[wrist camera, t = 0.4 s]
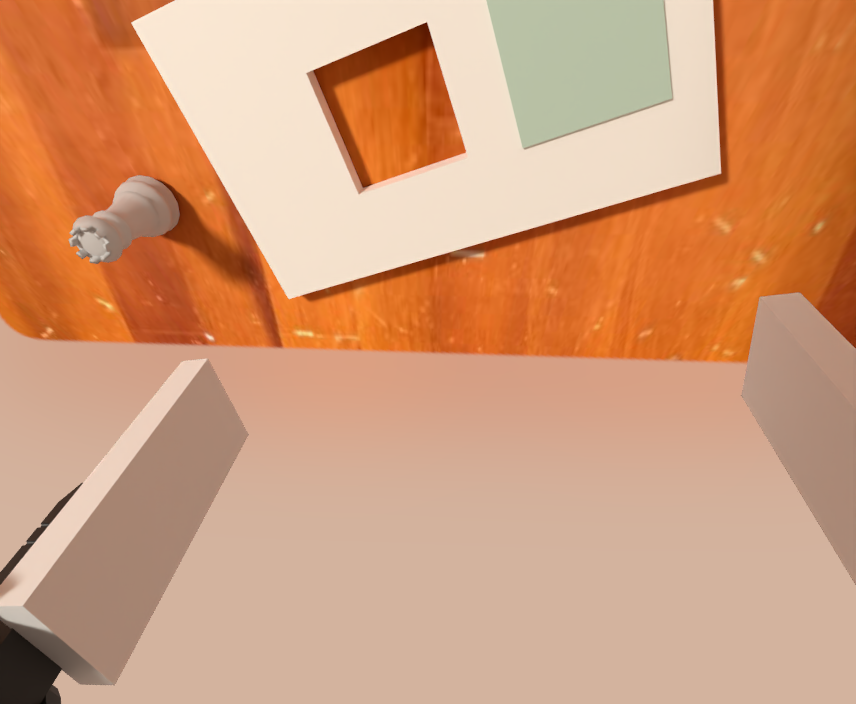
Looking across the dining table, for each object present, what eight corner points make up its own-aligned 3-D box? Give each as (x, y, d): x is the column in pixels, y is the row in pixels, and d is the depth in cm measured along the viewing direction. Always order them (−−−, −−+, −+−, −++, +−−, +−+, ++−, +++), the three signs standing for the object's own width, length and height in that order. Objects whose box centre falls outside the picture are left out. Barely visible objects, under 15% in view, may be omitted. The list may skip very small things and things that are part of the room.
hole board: (144, 21, 33) (129, 22, 31) (689, -254, 24) (702, -268, 23) (294, 290, 43) (287, 300, 42) (712, 166, 34) (722, 174, 33)
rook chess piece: (183, 185, 39) (122, 225, 32) (182, 237, 41) (124, 285, 35) (123, 164, 38) (48, 202, 32) (125, 219, 41) (57, 264, 34)
